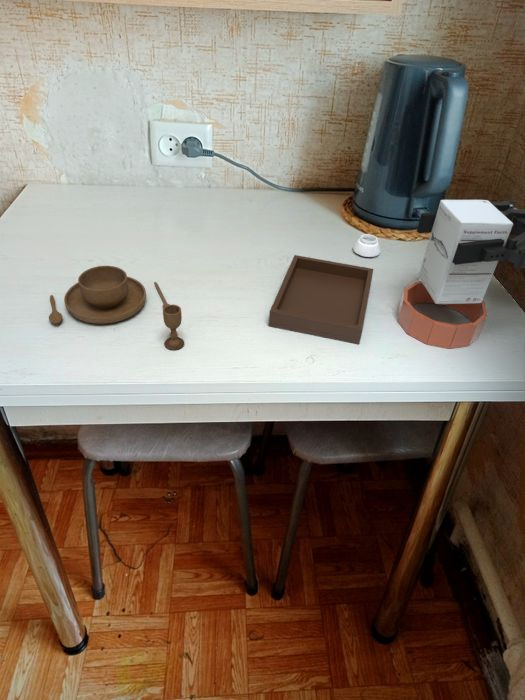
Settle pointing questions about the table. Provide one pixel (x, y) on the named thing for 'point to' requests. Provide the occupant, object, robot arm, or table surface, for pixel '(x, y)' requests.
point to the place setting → (113, 301)
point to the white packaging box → (448, 230)
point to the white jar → (367, 246)
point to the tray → (322, 299)
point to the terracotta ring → (436, 330)
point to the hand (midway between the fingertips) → (438, 238)
